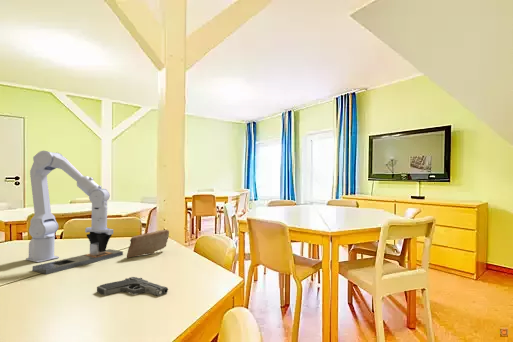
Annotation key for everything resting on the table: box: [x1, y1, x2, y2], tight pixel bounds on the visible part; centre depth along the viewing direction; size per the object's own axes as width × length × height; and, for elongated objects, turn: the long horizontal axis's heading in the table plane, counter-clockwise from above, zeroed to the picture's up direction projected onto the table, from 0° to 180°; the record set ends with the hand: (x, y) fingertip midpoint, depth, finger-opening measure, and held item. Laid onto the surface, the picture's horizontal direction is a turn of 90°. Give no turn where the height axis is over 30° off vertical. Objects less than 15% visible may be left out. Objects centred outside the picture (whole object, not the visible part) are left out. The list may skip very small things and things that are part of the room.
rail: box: [31, 248, 124, 275], centre depth 116 cm, size 9×30×2 cm, turn 152°
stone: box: [126, 229, 170, 259], centre depth 128 cm, size 19×10×4 cm
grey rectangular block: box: [89, 242, 105, 256], centre depth 122 cm, size 4×4×6 cm
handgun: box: [96, 276, 169, 297], centre depth 84 cm, size 2×17×12 cm
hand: (98, 250), depth 122 cm, fingers closed on grey rectangular block, 4 cm apart
